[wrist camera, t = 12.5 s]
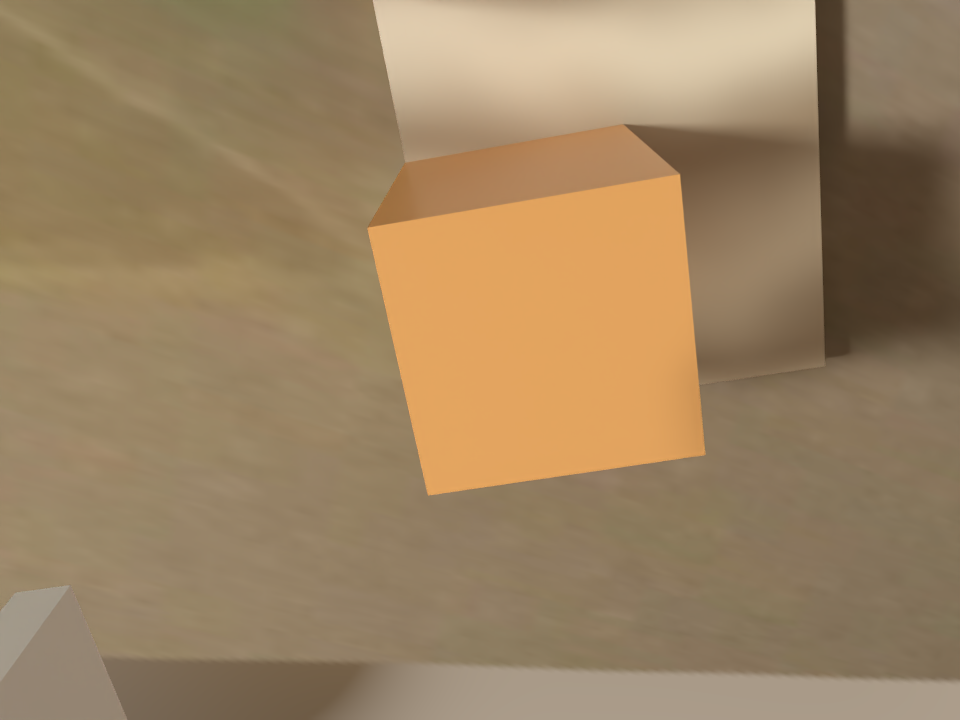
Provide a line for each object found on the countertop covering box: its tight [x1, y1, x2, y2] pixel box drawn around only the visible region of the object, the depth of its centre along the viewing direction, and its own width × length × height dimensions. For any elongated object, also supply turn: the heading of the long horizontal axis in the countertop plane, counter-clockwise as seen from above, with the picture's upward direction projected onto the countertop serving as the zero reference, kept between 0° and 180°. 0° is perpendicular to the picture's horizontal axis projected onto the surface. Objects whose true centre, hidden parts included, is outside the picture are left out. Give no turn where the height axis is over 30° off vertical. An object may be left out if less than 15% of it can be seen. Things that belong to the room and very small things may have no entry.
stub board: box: [373, 0, 825, 385], centre depth 26 cm, size 18×13×7 cm
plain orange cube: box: [368, 124, 705, 495], centre depth 25 cm, size 7×7×9 cm
